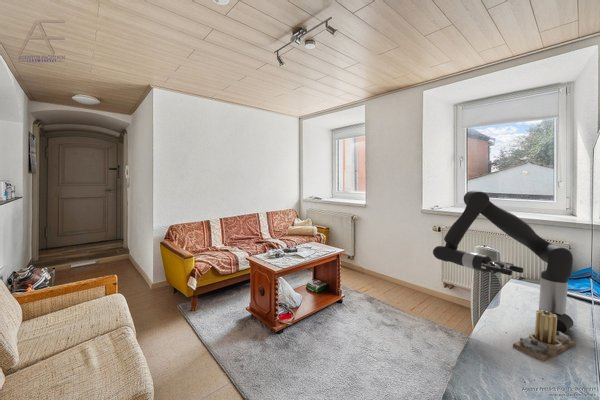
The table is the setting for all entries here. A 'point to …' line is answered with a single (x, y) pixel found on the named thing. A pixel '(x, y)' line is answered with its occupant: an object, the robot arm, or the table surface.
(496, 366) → the table surface
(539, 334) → the pinion
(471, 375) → the table surface
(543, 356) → the gear board
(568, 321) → the end cap
